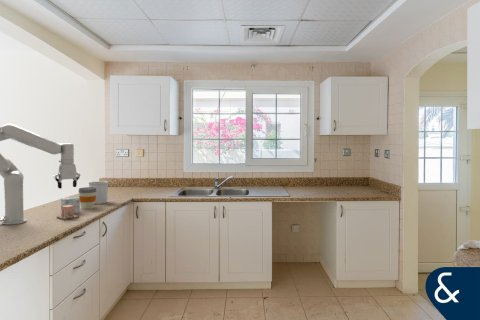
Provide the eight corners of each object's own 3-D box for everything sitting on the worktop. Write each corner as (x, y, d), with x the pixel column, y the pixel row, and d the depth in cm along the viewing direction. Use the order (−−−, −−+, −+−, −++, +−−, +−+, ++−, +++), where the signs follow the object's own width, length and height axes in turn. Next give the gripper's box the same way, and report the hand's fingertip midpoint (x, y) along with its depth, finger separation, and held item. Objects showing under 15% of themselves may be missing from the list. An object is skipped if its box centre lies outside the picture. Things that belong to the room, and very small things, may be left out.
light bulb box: (75, 211, 243) (75, 196, 242) (80, 212, 238) (80, 197, 238) (60, 213, 234) (60, 198, 234) (64, 214, 230) (64, 199, 230)
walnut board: (64, 220, 214) (64, 218, 214) (56, 218, 220) (56, 216, 220) (79, 217, 222) (79, 216, 222) (71, 215, 228) (71, 214, 228)
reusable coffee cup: (91, 209, 250) (91, 189, 249) (75, 209, 250) (75, 189, 249) (99, 206, 262) (99, 187, 262) (83, 205, 263) (83, 187, 262)
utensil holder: (92, 201, 284) (92, 180, 283) (110, 201, 286) (110, 180, 285) (86, 204, 269) (86, 182, 269) (105, 204, 271) (105, 182, 270)
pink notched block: (65, 217, 217) (65, 207, 217) (61, 216, 220) (61, 206, 220) (74, 216, 221) (74, 205, 221) (69, 215, 225) (69, 204, 224)
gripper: (56, 162, 210) (56, 189, 211) (83, 161, 224) (83, 187, 225) (50, 162, 214) (51, 188, 215) (77, 161, 228) (77, 185, 229)
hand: (67, 187), depth 220 cm, fingers open, 9 cm apart
